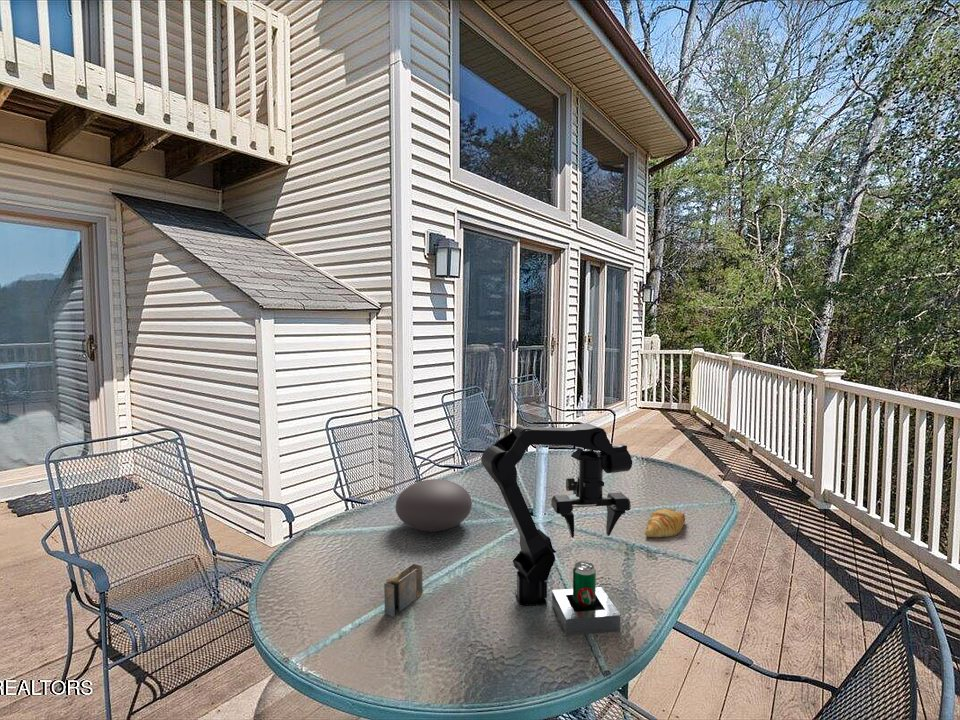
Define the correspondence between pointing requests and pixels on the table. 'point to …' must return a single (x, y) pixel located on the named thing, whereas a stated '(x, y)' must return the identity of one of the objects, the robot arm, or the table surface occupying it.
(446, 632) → the table surface
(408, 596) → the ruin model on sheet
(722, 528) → the table surface
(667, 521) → the croissant
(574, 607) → the soda can
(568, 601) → the sleeve block
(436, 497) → the smooth stone
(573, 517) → the robot arm
